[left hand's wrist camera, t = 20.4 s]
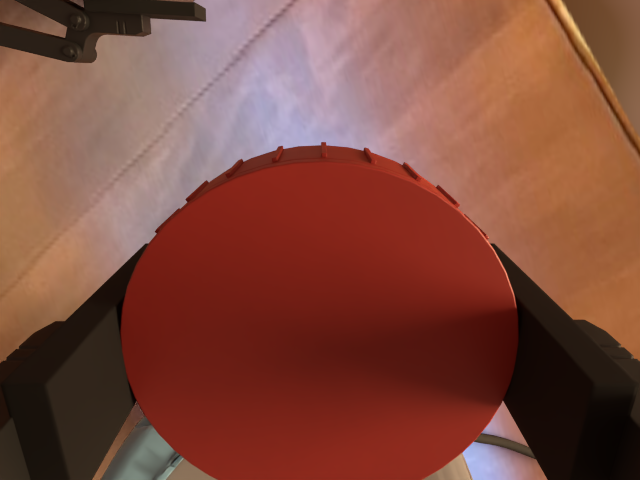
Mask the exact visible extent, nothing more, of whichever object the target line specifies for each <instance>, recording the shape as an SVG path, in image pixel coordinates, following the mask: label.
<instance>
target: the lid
mask: <svg viewBox="0 0 640 480" xmlns="http://www.w3.org/2000/svg"><path fill="white" fill-rule="evenodd" d="M185 200H186V201H187V203H186V204H185V205H184V206H183V207H182V208H181V209H177V210H176V211H175V212H174V213H173V214H172V215H171V216H170V217H169V218H168V219H167V220H166V221H165V222H164V223H163V224H161V225H160V226H159V227H158V228H157V229H156V231H155V232H156V233H157V234H156V235H155V237H154V238H153V239H152V240H151V241H150V243H149V244H148V246H147V248H146V249H145V251H144V253H143V254H142V256H141V257H140V259H139V261H138V262H137V264H136V267H135V269H134V271H133V274H132V276H131V279H130V281H129V284H128V286H127V290H126V294H125V298H124V302H123V307H122V314H121V327H120V338H121V345H122V352H123V358H124V363H125V368H126V374H127V379H128V381H129V384H130V386H131V389H132V392H133V394H134V397H135V399H136V400H137V402H138V404H139V406H140V408H141V409H142V411H143V413H144V415H145V417H146V418H147V419H148V421H149V422H150V423H151V425H152V426H153V427H154V429H155V430H156V431H157V433H158V434H159V435H160V436H161V437H162V438H163V439H164V440H165V441H166V442H167V443H168V444H169V445H170V446H171V447H172V448H173V450H175V451H176V452H177V453H178V454H180V455H181V456H182V457H183V458H184V459H186V460H187V461H188V462H189V463H191V464H192V465H194V466H195V467H197V468H198V469H200V470H201V471H203V472H204V473H206V474H208V475H209V476H211V477H213V478H215V479H217V480H423V479H425V478H426V477H428V476H430V475H431V474H433V473H435V472H436V471H438V470H440V469H441V468H443V467H444V466H446V465H447V464H448V463H450V462H451V461H452V460H454V459H455V458H456V457H458V456H459V455H460V454H461V453H462V452H463V451H464V450H465V449H466V448H467V447H468V446H470V445H471V444H472V443H473V442H474V441H475V440H476V439H477V437H478V436H479V435H480V434H481V433H482V431H483V430H484V429H485V428H486V426H487V425H488V424H489V423H490V421H491V420H492V418H493V416H494V415H495V413H496V411H497V410H498V408H499V407H500V405H501V403H502V401H503V399H504V396H505V394H506V392H507V390H508V387H509V385H510V382H511V379H512V375H513V371H514V366H515V361H516V355H517V349H518V343H519V326H518V313H517V307H516V302H515V297H514V292H513V290H512V287H511V284H510V281H509V278H508V276H507V273H506V270H505V268H504V267H503V265H502V263H501V261H500V259H499V257H498V256H497V254H496V252H495V250H494V248H493V247H492V246H491V244H490V243H489V242H488V241H487V239H489V238H488V236H487V235H486V234H485V233H484V232H483V231H482V230H481V229H480V228H479V227H478V226H477V225H476V224H475V223H474V222H473V221H471V220H470V219H469V218H468V217H467V216H466V215H465V214H463V213H462V212H461V211H460V210H459V209H458V207H459V206H460V204H459V203H458V202H456V201H455V200H454V199H453V198H452V197H451V196H450V195H449V194H448V193H447V192H446V191H445V190H443V189H442V188H441V187H440V186H439V185H438V186H437V187H435V186H434V185H432V184H431V183H430V182H428V181H427V180H425V179H424V178H423V177H421V176H420V175H419V174H417V173H416V172H415V171H414V170H413V169H412V168H411V167H410V166H409V165H408V164H407V163H405V162H404V164H403V165H401V164H399V163H397V162H395V161H393V160H390V159H387V158H385V157H382V156H379V155H377V154H374V153H371V152H370V150H369V149H368V148H364V151H362V150H357V149H353V148H348V147H337V146H326V142H321V145H320V146H299V147H293V148H287V149H283V146H279V147H278V148H277V150H276V151H272V152H269V153H266V154H263V155H260V156H257V157H254V158H251V159H249V160H247V161H245V162H243V160H242V159H241V160H238V161H237V162H236V163H235V165H234V166H233V167H232V168H230V169H229V170H227V171H226V172H224V173H222V174H221V175H219V176H218V177H216V178H215V179H213V180H212V181H210V182H208V181H207V180H206V181H205V182H204V183H203V184H202V185H200V186H199V187H198V188H197V189H196V190H195V191H194V192H193V193H192V194H191V195H190V196H188V197H187V198H186V199H185Z"/></svg>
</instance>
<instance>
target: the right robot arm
mask: <svg viewBox="0 0 640 480" xmlns="http://www.w3.org/2000/svg"><path fill="white" fill-rule="evenodd" d="M15 1H17V2H19V3H21V4H23V5H25V6H27V7H29V8H31V9H33V10H35V11H37V12H39V13H41V14H43V15H45V16H47V17H49V18H51V19H53V20H55V21H57V22H59V23H61V24H63V25H65V26H67V32H66V37H65V38H63V37H59V36H55V35H51V34H47V33H42V32H38V31H34V30H30V29H26V28H22V27H18V26H14V25H10V24H6V23H2V22H0V46H4V47H8V48H12V49H17V50H21V51H25V52H29V53H33V54H37V55H41V56H46V57H50V58H54V59H58V60H62V61H66V62H77V63H92V62H94V61H95V60H96V57H97V53H96V50H95V46H96V42H97V40H98V38H99V37H100V36H102V35H107V34H108V35H125V36H141V37H144V36H146V35H149V34H151V24H150V18H156V19H172V20H189V21H206V9H205V8H204V7H202V6H200V5H198V4H196V3H195V2H180V1H164V0H83V1H84V8H83V7H81V6H79V5H77V4H76V3H74V2H72V1H70V0H15Z"/></svg>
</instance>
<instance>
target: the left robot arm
mask: <svg viewBox="0 0 640 480" xmlns="http://www.w3.org/2000/svg"><path fill="white" fill-rule="evenodd" d="M147 246H148V244H145V245H144V246H143V247H142V248H141V249H139V250H138V251H137V252H136V253H135V254H134V255H133V256H132V257H131V258H130V259H129V260H128V261H127V262H126V263H125V264H124V265H123V266H122V267H121V268H120V269H119V270H118V271H117V272H116V273H115V274H114V275H113V276H111V277H110V278H109V279H108V280H107V281H106V282H105V283H104V284H103V285H102V286H101V287H100V288H99V289H98V290H97V291H96V292H95V293H94V294H93V295H92V296H91V297H90V298H89V299H88V300H87V301H86V302H84V303H83V304H82V305H81V306H80V307H79V308H78V309H77V310H76V311H75V312H74V313H73V314H72V315H71V316H70V317H69V318H68V319H67V320H66V321H55V322H53V323H52V324H50V325H48V326H46V327H44V328H42V329H41V330H39V331H37V332H35V333H34V334H32V335H31V336H30V337H29V338H28V339H27V340H26V341H25V342H24V343H22V344H21V345H20V346H19V349H16V350H15V351H14V352H12V353H11V354H10V355H9V356H8V357H7V360H6V361H2V362H1V363H0V480H92V479H93V477H94V475H95V473H96V472H97V470H98V468H99V466H100V465H101V463H102V461H103V459H104V457H105V456H106V454H107V452H108V450H109V449H110V447H111V445H112V443H113V441H114V440H115V438H116V436H117V434H118V433H119V431H120V429H121V427H122V426H123V424H124V422H125V420H126V418H127V417H128V415H129V413H130V411H131V410H132V408H133V406H134V404H135V402H136V401H137V400H136V399H135V397H134V394H133V392H132V389H131V386H130V384H129V381H128V379H127V374H126V368H125V363H124V358H123V352H122V345H121V338H120V327H121V314H122V307H123V302H124V298H125V294H126V290H127V286H128V284H129V281H130V279H131V276H132V274H133V271H134V269H135V267H136V264H137V262H138V261H139V259H140V257H141V256H142V254H143V253H144V251H145V249H146V248H147ZM491 246H492V247H493V248H494V250H495V252H496V254H497V256H498V257H499V259H500V261H501V263H502V265H503V267H504V268H505V270H506V273H507V276H508V278H509V281H510V284H511V287H512V290H513V292H514V297H515V302H516V307H517V313H518V326H519V343H518V349H517V355H516V361H515V366H514V371H513V375H512V379H511V382H510V385H509V387H508V390H507V392H506V394H505V396H504V399H503V401H504V403H505V405H506V407H507V408H508V410H509V412H510V414H511V415H512V417H513V419H514V421H515V422H516V424H517V426H518V428H519V430H520V431H521V433H522V435H523V437H524V438H525V440H526V442H527V444H528V446H529V447H530V448H529V447H527V446H524V445H522V444H519V443H516V442H514V441H511V440H508V439H504V438H501V437H497V436H493V435H487V434H480V435H479V436H478V437H477V439H476V440H475V441H474V442H479V443H485V444H491V445H496V446H500V447H504V448H507V449H510V450H513V451H516V452H519V453H521V454H524V455H526V456H529V457H531V458H534V459H536V460H537V462H538V463H539V465H540V467H541V469H542V470H543V472H544V474H545V476H546V477H547V479H548V480H640V361H638V360H637V359H634V358H633V355H632V354H631V353H630V352H628V351H627V350H626V349H625V348H624V347H621V344H619V343H618V342H617V341H616V340H615V339H614V338H613V337H612V336H611V335H609V334H608V333H607V332H606V331H604V330H602V329H601V328H599V327H597V326H595V325H593V324H591V323H589V322H588V321H586V320H573V319H572V318H571V317H570V316H569V315H568V314H567V313H566V312H565V311H564V310H562V309H561V308H560V307H559V306H558V305H557V304H556V303H555V302H554V301H553V300H552V299H551V298H550V297H549V296H548V295H547V294H546V293H545V292H544V291H543V290H542V289H541V288H540V287H539V286H538V285H537V284H535V283H534V282H533V281H532V280H531V279H530V278H529V277H528V276H527V275H526V274H525V273H524V272H523V271H522V270H521V269H520V268H519V267H518V266H517V265H516V264H515V263H514V262H513V261H512V260H511V259H510V258H509V257H507V256H506V255H505V254H504V253H503V252H502V251H501V250H500V249H499V248H498V247H497V246H496V245H495V244H491ZM101 480H217V479H215V478H213V477H211V476H209V475H208V474H206V473H204V472H203V471H201V470H200V469H198V468H197V467H195V466H194V465H192V464H191V463H189V462H188V461H187V460H186V459H184V458H183V457H182V456H181V455H180V454H178V453H177V452H176V451H175V450H173V448H172V447H171V446H170V445H169V444H168V443H167V442H166V441H165V440H164V439H163V438H162V437H161V436H160V435H159V434H158V433H157V431H156V430H155V429H154V427H153V426H152V425H151V423H150V422H149V421H148V419H147V418H146V417H145V416H144V417H143V418H142V419H141V420H140V421H139V422H138V424H137V425H136V426H135V427H134V429H133V430H132V431H131V433H130V434H129V435H128V437H127V438H126V440H125V441H124V443H123V444H122V446H121V447H120V449H119V450H118V452H117V453H116V455H115V456H114V458H113V460H112V461H111V463H110V465H109V466H108V468H107V470H106V471H105V473H104V475H103V477H102V478H101ZM423 480H473V479H472V476H471V474H470V471H469V469H468V466H467V464H466V461H465V458H464V456H463V454H462V453H461V454H460V455H459V456H458V457H456V458H455V459H454V460H452V461H451V462H450V463H448V464H447V465H446V466H444V467H443V468H441V469H440V470H438V471H436V472H435V473H433V474H431V475H430V476H428V477H426V478H425V479H423Z"/></svg>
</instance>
